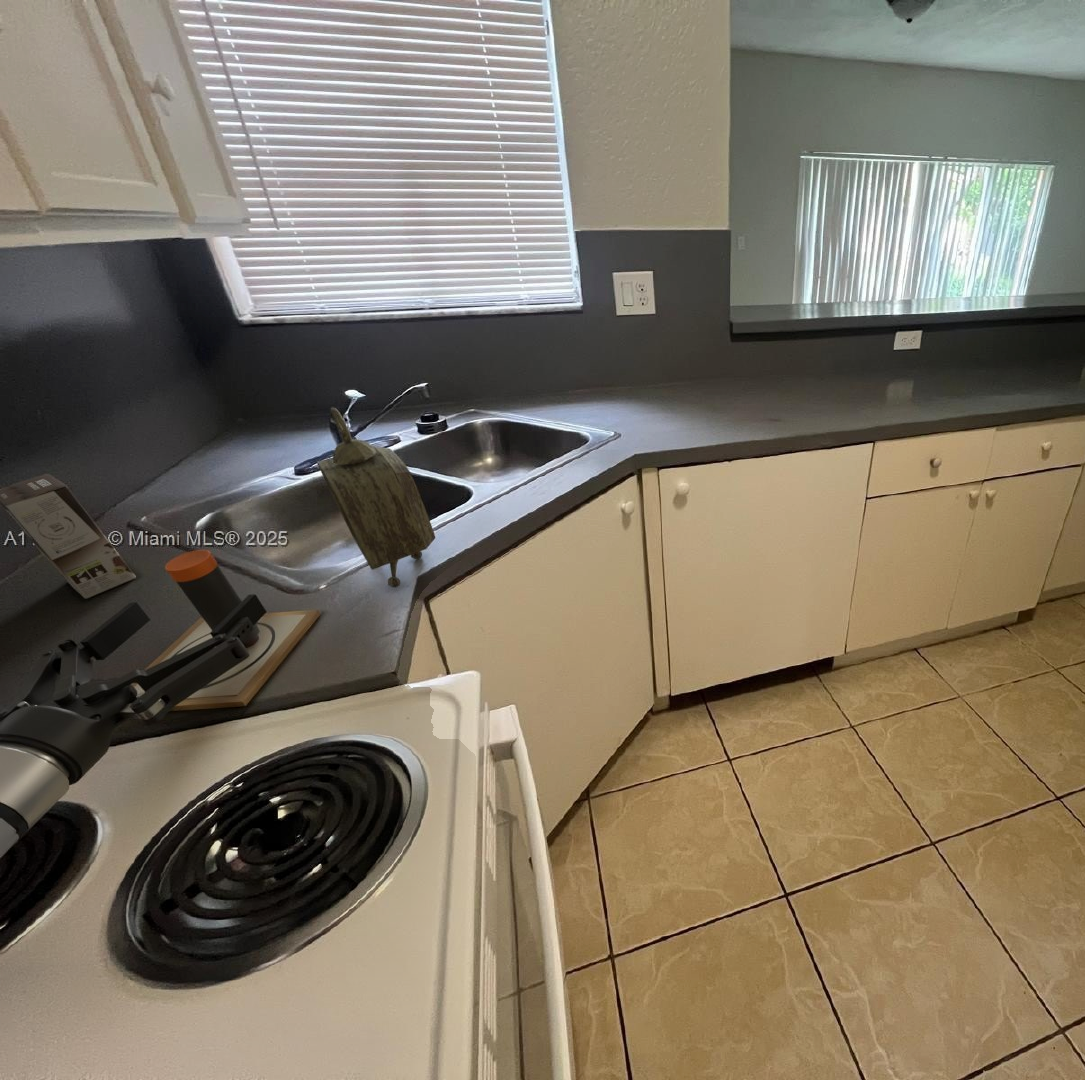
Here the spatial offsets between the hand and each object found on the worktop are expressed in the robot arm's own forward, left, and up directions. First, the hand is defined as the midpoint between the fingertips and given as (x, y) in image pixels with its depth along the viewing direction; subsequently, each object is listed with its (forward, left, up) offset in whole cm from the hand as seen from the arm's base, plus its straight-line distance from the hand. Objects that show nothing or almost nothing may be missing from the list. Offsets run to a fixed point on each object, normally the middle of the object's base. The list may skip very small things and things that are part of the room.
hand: (199, 607), depth 66 cm
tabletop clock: (+13, +19, -9) cm, 25 cm away
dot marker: (0, +2, -8) cm, 8 cm away
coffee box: (-34, +20, -9) cm, 40 cm away
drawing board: (-2, 0, -9) cm, 9 cm away
